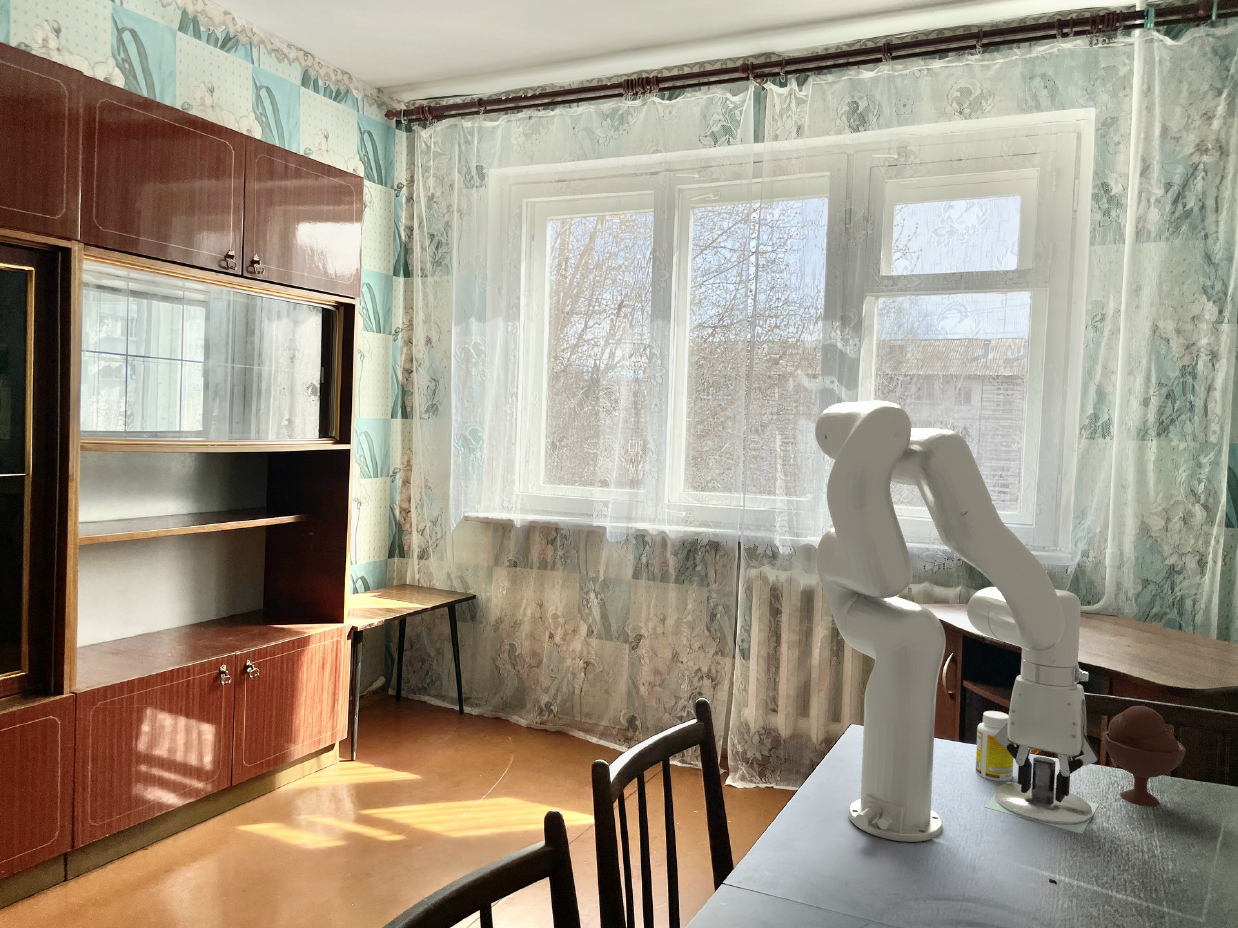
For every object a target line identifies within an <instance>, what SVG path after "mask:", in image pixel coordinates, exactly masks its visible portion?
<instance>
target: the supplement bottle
mask: <svg viewBox="0 0 1238 928" xmlns="http://www.w3.org/2000/svg"><path fill="white" fill-rule="evenodd" d="M1008 718H1009V714H1007V713H1004V712H1002V711H995V710H987V711H984V712H983V715H982V722H980V723H979V724H978V725H977V729H976V749H975V750H976V752H975V755H976V756H975V772H976V774H977V775H978V776H979V777H982V778H984V779H986V780H990V781H996V782H1007V781H1010V780H1012V779H1013V773H1014V758H1013V756H1012V755H1011V754H1010V753H1009V752H1008V750H1007V748H1005V747H1004V746H1003V745H1002V744H1000V743H999V742H998V741H997V740H996V739H995V735H996V734H997V733H998V732H999V731H1000V730H1001V729H1002V727H1003V726H1004V725H1005V724H1006V723H1007V722H1008Z"/></svg>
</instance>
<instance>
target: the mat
mask: <svg viewBox="0 0 1238 928" xmlns="http://www.w3.org/2000/svg"><path fill="white" fill-rule="evenodd" d="M1010 783H1015V782H1013V781H1010V780H1008V781H1005V783H1004V784H1010ZM1085 801H1086V802H1087V803H1088V804H1089V805H1090V806H1091V808H1092V816H1091V819H1092V817H1093V816H1094V813H1095V812H1096V810H1097V809H1098V807H1099V806H1100V804H1099V803H1097V802H1092V801H1089V800H1085ZM984 808H985V809H990V810H992V811H997V812H1000V813H1003V814H1008V815H1012V816H1015V817H1020V818H1023V819H1025V820H1030V821H1034V822H1036V823H1041V824H1044V825H1048V826H1051V827H1055V828H1059V829H1061V830H1062V829H1063V830H1065V831H1066V830H1067V831H1070V832H1074V833H1077V834H1081V835H1082V834H1083V833H1084V832H1085V829H1086V828H1087V826H1088V824H1089V823H1090V821H1091V819H1090V820H1088V821H1087V822H1084V823H1081V824H1074V825H1060V824H1050V823H1044V822H1039V821H1035V820H1031V819H1028V818H1024V817H1022V816H1019V815H1016V814H1014V813H1012V812H1010V811H1008V810H1006V809H1005V808H1003V807H1002V806H1000V805H999V804H998V803H997V801H996V799H995V795H993V796H992V797H991V799H990V800H989V801H988V802H987V803H986V804H985V805H984Z"/></svg>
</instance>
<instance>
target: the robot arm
mask: <svg viewBox="0 0 1238 928" xmlns="http://www.w3.org/2000/svg"><path fill="white" fill-rule="evenodd" d="M815 424H816V425H815V431H814V433H815V434H814V436H815V439H816V442H817V445H818V446H819V448H820V449H821V451H822V452H823V453H824V454H825V455H826V456H828V457H829V458H830V459H832V460H834V462H833V465H832V468H831V471H830V474H829V477H828V480H827V487H826V500H827V506H828V510H829V515H830V518H831V522H832V525H833V527H831V528H829V529H828V530H827V531H826V532H825V533H824V534H823V535H822V537H821V538H820V540H819V542H818V545H817V548H816V554H815V559H816V560H815V561H816V562H815V563H816V570H817V575H818V577H819V580H820V583H821V586H822V589H823V591H824V594H825V597H826V600H827V602H828V603H827V604H828V607H829V609H830V611H831V615H832V617H833V620H834V622H835V623H834V624H835V625H836V628H837V630H838V632H839V633H840V636H841V637H842V638H843V640H844V641H845V643H847V645H848V646H850V647H851V648H853V649H855V650H856V651H857V652H860V653H862V655H863V654H864V655H865V656H868V657H870V658H872V659H874V665H873V668H872V671H871V673H870V675H869V678H868V680H867V684H866V686H865V692H864V693H865V694H864V701H863V703H864V705H863V710H864V713H863V735H862V736H863V737H862V762H861V763H862V764H861V784H860V785H861V787H860V788H861V789H860V798H858V799H857V800H855V801H853V802H851V804H850V805H849V808H848V818H849V819H850V821H851V822H852V823H853V824H854V825H855V826H856V827H858V828H859V829H860V830H862V831H864V832H866V833H867V834H869V835H873V836H875V837H879V838H883V839H886V840H892V841H897V842H906V843H907V842H911V843H912V842H913V843H914V842H924V841H929V840H933V839H934V838H936V837H938V836H939V835H940V834H941V833H942V830H943V820H942V818H941V817H940V816H939V814H938V813H936V812H935V811H934V810H932V791H933V790H932V788H933V769H934V750H935V749H934V745H935V744H934V742H935V724H936V723H935V722H936V721H935V720H936V705H937V704H936V702H937V701H936V700H937V690H938V689H937V688H938V681H939V677H940V676H939V675H940V671H941V667H942V664H943V660H944V656H945V652H946V645H947V644H946V642H947V641H946V633H945V629H944V626H943V624H942V622H941V621H940V619H939V618H938V617H937V615H935V614H934V612H932V610H930V609H929V608H926V606H924V605H921V604H919V603H916V602H914V601H911V600H909V599H906V598H905V599H904V598H902V597H899V596H901V595H902V594H904V593H905V592H907V590H908V589H909V587H910V586H911V584H912V580H913V577H914V569H913V563H912V559H911V558H912V557H911V555H910V552H909V550H908V549H909V548H908V546H907V543H906V540H905V537H904V534H903V531H902V528H901V526H900V522H899V519H898V517H897V514H896V511H895V506H894V502H893V499H892V493H891V484H892V483H895V484H899V485H906V486H914V487H916V488H918V491H919V493H920V495H921V498H922V499H923V501H924V504H925V506H926V508H927V511H928V512H929V516H930V518H931V519H932V523H933V524H934V526H935V529H936V531H937V534H938V536H939V539H940V540H941V542H942V543H943V544H944V545H945V547H947V549H949V550H950V551H951V552H953V553H954V554H955V555H956V556H958V557H959V558H960V559H961V560H962V561H964V562H966V563H968V565H970V566H972V567H973V568H974V569H976V570H977V571H979V572H980V573H981V574H983V576H984V577H985V578H987V579H988V581H990V583H992V585H993V586H990V587H983V588H982V589H979V590H978V591H977V592H975V593H974V594H973V595H972V596H971V597H970V599H969V601H968V603H967V605H966V607H967V608H966V614H967V615H966V616H967V618H968V620H969V623H970V624H971V625H972V627H973V628H975V629H976V630H977V631H978V632H979V633H981V634H982V635H985V636H987V637H989V638H993V639H995V640H997V641H1001V642H1005V643H1008V644H1011V645H1014V646H1017V647H1020V648H1021V661H1020V662H1021V663H1020V674H1019V675H1017V676H1016V678H1015V680H1014V683H1013V684H1014V685H1013V688H1012V693H1011V698H1010V705H1009V711H1008V715H1009V718H1008V722H1007V723H1006V724H1005V725H1004V726H1003V727H1002V729H1001V730H1000V731H999V732H998V733H997V734H996V735H995V739H996V740H997V741H998V742H999V743H1000V744H1002V745H1003V746H1004V747H1005V748H1007V750H1008V752H1009V753H1010V754H1011V755H1012V756H1013V760H1015V763H1016V765H1017V766H1018V769H1017V783H1018V784H1020V785H1021V792H1022V793H1027V792H1028V790H1029V789H1030V788H1031V784H1032V777H1033V762H1032V761H1031V759H1030V754H1031V751H1032V749H1035V750H1039V751H1043V752H1047V753H1051V754H1056V755H1057V758H1058V759H1057V760H1058V764H1059V770H1058V773H1057V774H1056V775H1055V788H1056V795H1055V800H1057V802H1061V801H1062V800H1063V798H1064V797H1065V796H1068V795H1069V793H1070V786H1071V783H1070V782H1071V774H1073V773H1074V772H1076V771H1078V770H1079V769H1081V768H1083V767H1085V766H1088V765H1091V764H1094V763H1096V762H1097V761H1098V759H1099V755H1098V753H1097V751H1096V749H1095V748H1094V747H1093V745H1092V744H1091V742H1090V740H1089V738H1088V737H1087V709H1086V699H1085V691H1084V687H1083V685H1081V684H1078V683H1079V682H1088V681H1089V675H1090V674H1089V672H1088V671H1084V670H1083V669H1081V668H1080V664H1079V648H1080V647H1079V645H1080V629H1081V628H1080V625H1081V609H1082V608H1081V607H1082V606H1081V605H1082V604H1081V600H1080V598H1079V596H1077V594H1075V593H1073V592H1070V591H1067V590H1063V589H1062V590H1061V589H1056V588H1055V587H1054V584H1053V581H1052V579H1051V578H1050V576H1049V574H1048V572H1047V571H1046V569H1045V568H1044V566H1043V565H1042V563H1041V562H1040V561H1039V560H1038V558H1036V556H1035V555H1034V554H1033V553H1032V551H1030V549H1028V548H1027V547H1026V545H1025V544H1024V543H1023V542H1022V541H1021V539H1019V537H1018V536H1017V535H1016V534H1015V533H1014V532H1013V531H1012V530H1011V529H1010V528H1009V527H1008V526H1007V525H1005V523H1004V522H1003V520H1002V519H1001V517H1000V515H999V513H998V511H997V508H996V507H995V504H994V501H993V499H992V496H991V494H990V492H989V489H988V488H987V485H986V482H985V480H984V479H983V478H984V477H983V476H982V474H981V471H980V468H979V466H978V464H977V462H976V460H975V457H974V456H973V452H972V450H971V449H970V446H969V444H968V443H967V441H966V440H965V438H964V437H963V436H961V435H960V434H958V433H957V432H955V431H952V430H950V429H942V428H912V422H911V419H910V416H909V414H908V413H907V411H906V410H905V409H904V408H903V407H902V406H900V405H898V404H896V403H894V402H890V401H884V400H865V401H851V402H848V401H847V402H841V403H836V404H833V405H830V406H829V407H828V408H826V409H825V410H824V411H823V412H822V413H821V414H820V415H819V417H818V419H817V420H816V423H815ZM1081 751H1082V753H1083V755H1080V753H1081ZM1072 757H1075V758H1074V759H1073V758H1072Z"/></svg>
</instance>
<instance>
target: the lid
mask: <svg viewBox="0 0 1238 928" xmlns="http://www.w3.org/2000/svg"><path fill="white" fill-rule="evenodd" d="M1032 761H1033V762H1032V776H1031V788H1030V789H1029V790H1028V792H1027V793H1022V792H1021V785H1020V784H1018V782H1014V783H1010V784H1005V783H1004V784H1002V785H1000V786H998V787H996V788H995V792H994V796H995V799H996V801H997V803H998V804H999V805H1000V806H1002V807H1003V808H1005V809H1006V810H1008V811H1010V812H1012V813H1014V814H1016V815H1019V816H1022V817H1024V818H1023V819H1026V818H1028V819H1027V820H1029V819H1031V820H1030V821H1033V820H1035V821H1034V822H1037V821H1039V822H1038V823H1040V822H1044V823H1050V824H1060V825H1074V824H1081V823H1084V822H1087V821H1088V820H1090V821H1091V820H1092V818H1091V816H1092V808H1091V806H1090V805H1089V804H1088V803H1087V802H1086V801H1087V800H1085V799H1083V798H1082V797H1080V796H1078V795H1076V794H1074V793H1071V792H1069V795H1068V796H1065V797H1064V798H1063V800H1062V801H1061V802H1057V800H1055V795H1056V763H1057V762H1056V760H1054V759H1052V758H1049V757H1044V756H1034V757H1033V760H1032ZM1022 817H1021V818H1022ZM1092 817H1093V816H1092ZM1044 823H1043V824H1044Z"/></svg>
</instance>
